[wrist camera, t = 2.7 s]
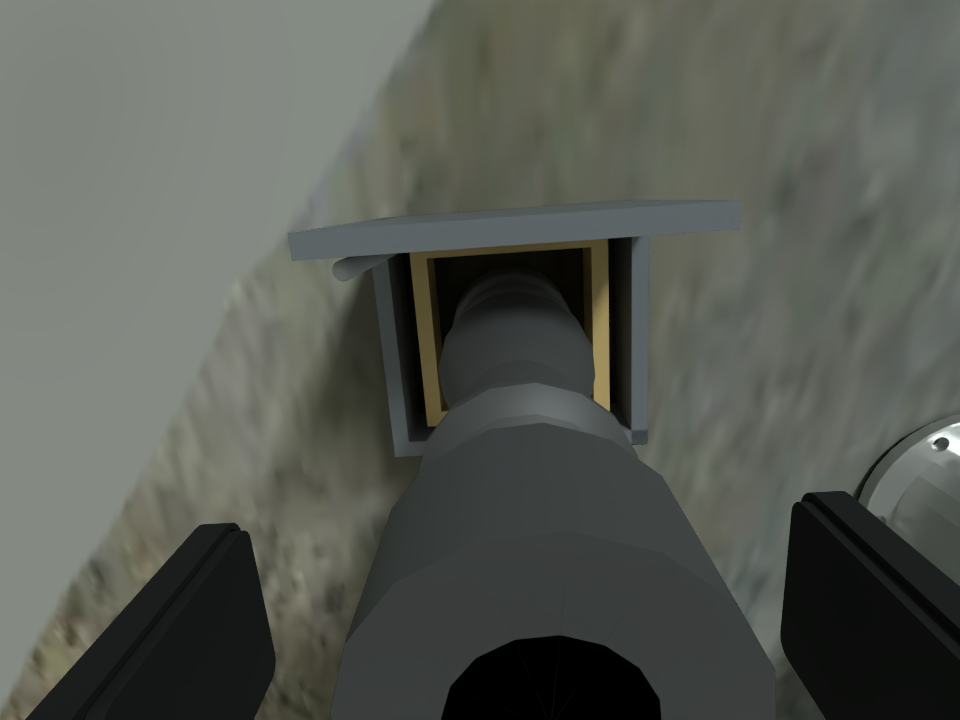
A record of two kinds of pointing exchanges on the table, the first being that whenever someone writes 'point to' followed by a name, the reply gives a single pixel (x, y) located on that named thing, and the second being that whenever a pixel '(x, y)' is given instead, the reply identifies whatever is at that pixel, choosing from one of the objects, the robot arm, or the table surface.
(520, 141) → the table surface
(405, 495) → the candle holder
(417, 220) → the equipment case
